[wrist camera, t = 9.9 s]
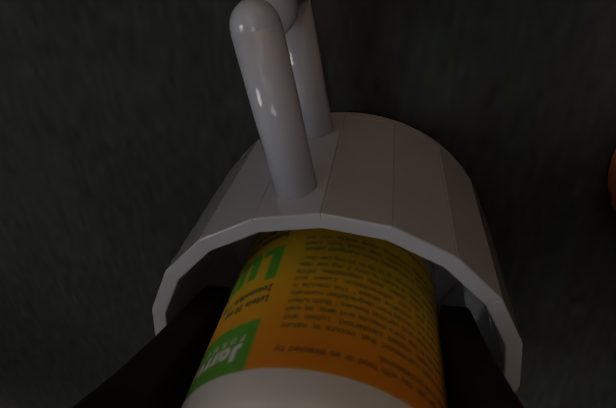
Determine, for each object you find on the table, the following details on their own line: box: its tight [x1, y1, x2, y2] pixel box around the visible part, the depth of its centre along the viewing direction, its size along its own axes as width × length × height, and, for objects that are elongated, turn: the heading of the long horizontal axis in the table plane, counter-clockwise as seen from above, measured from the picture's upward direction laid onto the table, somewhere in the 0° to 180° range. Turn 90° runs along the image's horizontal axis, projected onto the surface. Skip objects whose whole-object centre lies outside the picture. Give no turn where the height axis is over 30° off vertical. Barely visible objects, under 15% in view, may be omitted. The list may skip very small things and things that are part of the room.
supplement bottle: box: [181, 228, 448, 408], centre depth 10 cm, size 5×5×10 cm
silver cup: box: [152, 0, 523, 393], centre depth 12 cm, size 12×8×5 cm
